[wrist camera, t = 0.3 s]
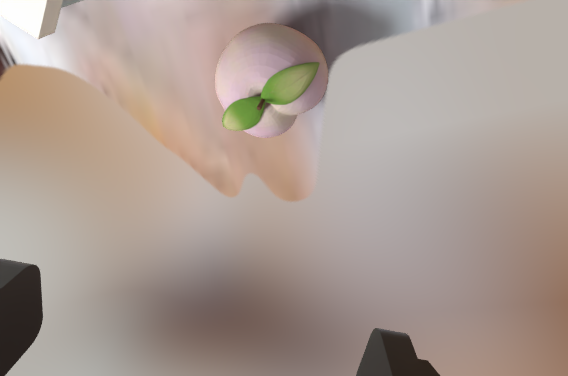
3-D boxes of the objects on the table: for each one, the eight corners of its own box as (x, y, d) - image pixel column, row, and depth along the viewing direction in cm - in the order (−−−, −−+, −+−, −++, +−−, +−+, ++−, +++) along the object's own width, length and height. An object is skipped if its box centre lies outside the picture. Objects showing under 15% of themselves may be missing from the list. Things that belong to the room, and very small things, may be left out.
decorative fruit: (280, -17, 31) (254, 10, 23) (346, 56, 33) (344, 102, 26) (213, 63, 36) (173, 107, 28) (275, 121, 38) (255, 177, 30)
